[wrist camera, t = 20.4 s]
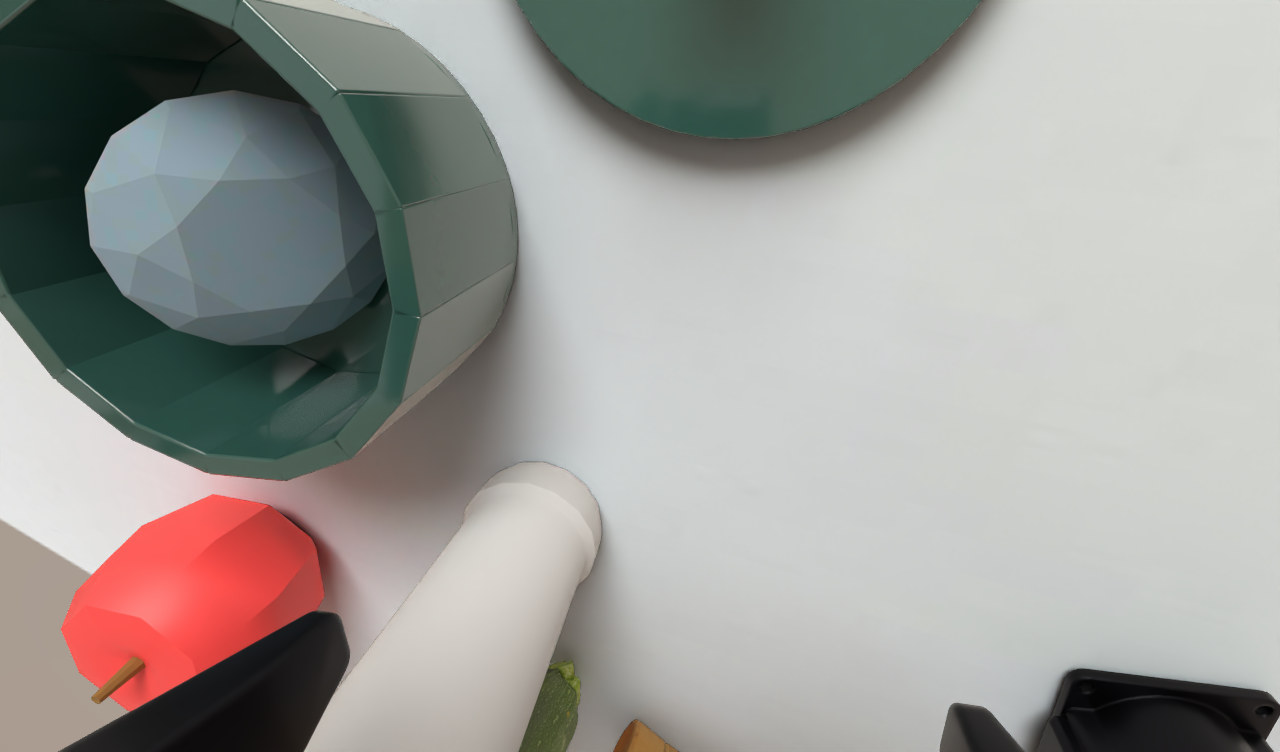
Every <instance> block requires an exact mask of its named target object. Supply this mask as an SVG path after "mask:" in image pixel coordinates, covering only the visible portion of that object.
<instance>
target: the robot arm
mask: <svg viewBox="0 0 1280 752" xmlns="http://www.w3.org/2000/svg"><path fill="white" fill-rule="evenodd" d="M349 659H350V649H349V645H348V642H347V638H346V635H345V631H344V627H343V624H342V620H341V618H340V617H339V616H338V615H337V614H335V613H330V612H323V611H312V612H309V613H307V614H305V615H303V616H301V617H300V618H298V619H296V620H294V621H292V622H291V623H289V624H287V625H285V626H283V627H282V628H280V629H278V630H276V631H274V632H273V633H271V634H269V635H267V636H265V637H264V638H262V639H260V640H258V641H256V642H255V643H253V644H251V645H249V646H247V647H246V648H244V649H242V650H240V651H238V652H237V653H235V654H233V655H231V656H229V657H228V658H226V659H224V660H222V661H220V662H219V663H217V664H215V665H213V666H211V667H210V668H208V669H206V670H204V671H202V672H201V673H199V674H197V675H195V676H193V677H192V678H190V679H188V680H186V681H184V682H183V683H181V684H179V685H177V686H175V687H174V688H172V689H170V690H168V691H166V692H165V693H163V694H161V695H159V696H157V697H156V698H154V699H152V700H150V701H148V702H147V703H145V704H143V705H141V706H139V707H138V708H136V709H134V710H132V711H130V712H129V713H127V714H125V715H123V716H121V717H120V718H118V719H116V720H114V721H112V722H111V723H109V724H107V725H105V726H104V727H102V728H100V729H98V730H96V731H94V732H93V733H91V734H89V735H87V736H85V737H84V738H82V739H80V740H78V741H77V742H75V743H73V744H71V745H69V746H67V747H66V748H64V749H62V750H60V751H58V752H304V751H305V749H306V747H307V745H308V743H309V741H310V739H311V737H312V735H313V733H314V731H315V729H316V727H317V725H318V723H319V722H320V720H321V718H322V716H323V714H324V712H325V710H326V708H327V706H328V704H329V702H330V700H331V698H332V696H333V694H334V692H335V690H336V688H337V686H338V685H339V683H340V681H341V679H342V677H343V675H344V673H345V671H346V669H347V666H348V663H349ZM1083 683H1084V684H1083ZM1279 716H1280V704H1279V703H1278V702H1277V701H1276V700H1275V699H1274V698H1273V696H1272V695H1270V694H1269V693H1267V692H1264V691H1259V690H1251V689H1243V688H1235V687H1227V686H1219V685H1211V684H1203V683H1195V682H1187V681H1179V680H1171V679H1163V678H1155V677H1147V676H1139V675H1131V674H1123V673H1114V672H1106V671H1098V670H1090V669H1076V670H1073V671H1071V672H1070V673H1068V675H1067V676H1066V678H1065V681H1064V684H1063V686H1062V689H1061V692H1060V695H1059V698H1058V700H1057V703H1056V706H1055V709H1054V711H1053V714H1052V716H1051V717H1050V719H1049V720H1048V721H1047V724H1046V727H1045V729H1044V732H1043V735H1042V738H1041V741H1040V743H1039V746H1038V749H1037V752H1274V751H1273V750H1272V749H1271V747H1270V746H1269V745H1268V744H1267V742H1266V741H1265V740H1266V739H1267V737H1268V735H1269V733H1270V732H1271V730H1272V728H1273V727H1274V725H1275V723H1276V721H1277V720H1278V718H1279ZM940 752H1024V750H1023V749H1022V748H1021V747H1020V746H1019V745H1018V744H1017V742H1016V741H1015V740H1014V739H1013V738H1012V737H1011V735H1010V734H1009V733H1008V732H1007V731H1006V730H1005V728H1004V727H1003V726H1002V725H1001V724H1000V723H999V721H998V720H997V719H996V718H995V717H994V716H993V714H992V713H991V712H990V711H988V710H987V709H986V708H984V707H981V706H975V705H968V704H961V703H954V704H952V705H951V706H950V708H949V710H948V714H947V718H946V722H945V727H944V731H943V735H942V739H941V744H940Z"/></svg>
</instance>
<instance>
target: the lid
mask: <svg viewBox="0 0 1280 752" xmlns="http://www.w3.org/2000/svg"><path fill="white" fill-rule="evenodd" d="M516 1H517V3H518V5H519V7H520V9H521V10H522V12H523V13H524V15H525V16H526V18H527V19H528V21H529V22H530V24H531V25H532V27H533V29H534V30H535V32H536V33H537V35H538V36H539V37H540V39H541V40H542V41H543V42H544V43H545V45H546V46H547V47H548V48H549V49H550V51H551V52H552V53H553V54H554V55H555V57H556V58H557V59H558V60H559V61H560V63H561V64H562V65H563V66H565V67H566V68H567V69H568V70H569V71H570V72H571V73H572V74H573V75H574V76H575V77H576V78H577V79H578V80H580V81H581V82H582V83H583V84H584V85H585V86H586V87H587V88H589V89H590V90H592V91H593V92H594V93H596V94H597V95H599V96H600V97H601V98H603V99H604V100H606V101H607V102H609V103H610V104H611V105H613V106H615V107H617V108H618V109H620V110H622V111H624V112H626V113H628V114H630V115H632V116H634V117H636V118H638V119H640V120H641V121H644V122H647V123H650V124H653V125H655V126H658V127H661V128H664V129H667V130H670V131H673V132H678V133H683V134H688V135H693V136H697V137H702V138H717V139H735V140H737V139H749V138H762V137H771V136H776V135H780V134H785V133H789V132H794V131H799V130H803V129H806V128H809V127H811V126H814V125H817V124H820V123H823V122H825V121H828V120H831V119H834V118H837V117H839V116H841V115H843V114H845V113H847V112H849V111H851V110H853V109H855V108H857V107H859V106H860V105H862V104H864V103H866V102H868V101H870V100H872V99H874V98H875V97H877V96H878V95H880V94H881V93H883V92H884V91H886V90H887V89H889V88H890V87H892V86H893V85H895V84H896V83H898V82H899V81H901V80H902V79H904V78H905V77H906V76H907V75H909V74H910V73H911V72H912V71H913V70H915V69H916V68H917V67H918V66H919V65H921V64H922V63H923V62H924V61H925V60H926V59H928V58H929V57H930V56H931V55H932V54H934V53H935V52H936V51H937V50H938V49H939V48H940V47H941V46H942V45H943V44H944V43H945V42H946V41H947V40H948V39H949V38H950V37H951V36H952V35H953V33H954V32H955V31H956V30H957V29H958V28H959V27H960V26H961V25H962V24H963V23H964V22H965V21H966V20H967V19H968V18H969V16H970V15H971V14H972V13H973V11H974V10H975V9H976V7H977V6H978V5H979V4H980V2H981V1H982V0H516Z"/></svg>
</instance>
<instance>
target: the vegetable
mask: <svg viewBox="0 0 1280 752" xmlns="http://www.w3.org/2000/svg"><path fill="white" fill-rule="evenodd" d="M580 685H581V682H580V680H579V678H578V677H575V676H574V665H573V663H572V661H568V662H566V661H562V662H557V663H554V664H552V665H550V666H549V667H548V669H547V672H546V675H545V678H544V681H543V684H542V686H541V689H540V692H539V695H538V698H537V700H536V703H535V706H534V709H533V712H532V715H531V717H530V720H529V723H528V726H527V729H526V731H525V734H524V737H523V740H522V743H521V746H520V748H519V751H518V752H566V750H567V747H568V745H569V743H570V741H571V739H572V737H573V735H574V732H575V729H576V725H577V718H578V714H577V707H578V705H579V702H580Z"/></svg>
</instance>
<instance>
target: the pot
mask: <svg viewBox="0 0 1280 752" xmlns="http://www.w3.org/2000/svg"><path fill="white" fill-rule="evenodd" d="M230 90H236V91H241V92H246V93H250V94H255V95H260V96H265V97H270V98H274V99H279V100H284V101H289V102H294V103H298V104H301V105H303V106H304V107H306V108H308V109H309V110H311V111H313V112H314V113H316V114H318V115H319V116H321V118H322V119H323V121H324V123H325V125H326V127H327V128H328V130H329V132H330V134H331V136H332V137H333V139H334V141H335V143H336V145H337V146H338V148H339V150H340V152H341V154H342V156H343V157H344V159H345V161H346V163H347V165H348V166H349V168H350V170H351V172H352V174H353V175H354V177H355V179H356V181H357V183H358V184H359V186H360V188H361V190H362V192H363V193H364V195H365V197H366V199H367V201H368V202H369V204H370V206H371V208H372V210H373V211H374V213H375V218H376V224H377V229H378V234H379V240H380V245H381V250H382V256H383V261H384V266H385V272H386V278H385V280H384V281H383V283H382V285H381V286H380V288H379V290H378V291H377V293H376V294H375V296H374V298H373V299H372V301H371V302H370V303H369V304H367V305H366V306H365V307H363V308H362V309H361V310H359V311H358V312H357V313H355V314H354V315H353V316H351V317H350V318H348V319H347V320H346V321H344V322H343V323H342V324H340V325H339V326H338V327H336V328H335V329H333V330H330V331H327V332H324V333H321V334H318V335H315V336H312V337H308V338H305V339H302V340H299V341H296V342H293V343H290V344H287V345H233V346H230V345H227V344H223V343H220V342H216V341H213V340H209V339H206V338H202V337H199V336H195V335H192V334H188V333H185V332H181V331H178V330H174V329H172V328H171V327H169V326H168V325H166V324H165V323H163V322H162V321H161V320H159V319H158V318H156V317H155V316H153V315H152V314H150V313H149V312H147V311H146V310H144V309H143V308H141V307H140V306H138V305H137V304H135V303H134V302H133V301H131V300H130V299H128V298H127V297H125V296H124V295H123V294H122V293H121V291H120V290H119V288H118V287H117V285H116V284H115V282H114V281H113V279H112V278H111V276H110V275H109V273H108V272H107V270H106V269H105V267H104V266H103V264H102V263H101V261H100V260H99V258H98V257H97V255H96V254H95V252H94V251H93V249H92V248H91V246H90V238H89V228H88V218H87V208H86V198H85V187H86V185H87V183H88V181H89V179H90V177H91V175H92V173H93V171H94V169H95V167H96V165H97V163H98V161H99V159H100V157H101V155H102V153H103V151H104V149H105V147H106V145H107V143H108V141H109V139H110V137H111V136H112V135H113V134H115V133H116V132H118V131H119V130H121V129H123V128H124V127H126V126H127V125H129V124H130V123H132V122H133V121H135V120H136V119H138V118H139V117H141V116H142V115H144V114H145V113H147V112H149V111H150V110H152V109H153V108H155V107H156V106H158V105H159V104H161V103H162V102H164V101H166V100H172V99H179V98H185V97H191V96H198V95H204V94H211V93H217V92H224V91H230ZM517 247H518V235H517V216H516V209H515V203H514V197H513V191H512V187H511V184H510V180H509V177H508V173H507V169H506V166H505V163H504V161H503V158H502V156H501V153H500V151H499V148H498V146H497V143H496V141H495V138H494V136H493V135H492V133H491V131H490V129H489V127H488V125H487V124H486V122H485V120H484V118H483V116H482V114H481V112H480V111H479V109H478V108H477V107H476V105H475V104H474V102H473V101H472V99H471V98H470V97H469V95H468V94H467V92H466V91H465V89H464V88H463V87H462V86H461V84H460V83H459V82H458V81H457V80H456V79H455V78H454V77H453V75H452V74H451V73H450V72H449V71H448V70H447V69H446V67H445V66H444V65H443V64H442V63H441V62H439V61H438V60H437V59H436V58H435V57H434V56H433V55H432V54H431V53H429V52H428V51H427V50H426V49H425V48H424V47H423V46H422V45H420V44H419V43H417V42H416V41H415V40H413V39H412V38H410V37H409V36H407V35H406V34H405V33H404V32H402V31H400V30H399V29H397V28H395V27H394V26H392V25H390V24H388V23H386V22H384V21H382V20H380V19H378V18H376V17H374V16H372V15H370V14H367V13H364V12H361V11H358V10H355V9H353V8H350V7H347V6H345V5H342V4H340V3H338V2H335V1H333V0H0V312H1V313H2V314H3V316H4V317H5V318H6V319H7V321H8V322H9V323H10V324H11V326H12V327H13V328H14V330H15V331H16V332H17V333H18V335H19V336H20V337H21V338H22V340H23V341H24V342H25V343H26V345H27V346H28V347H29V348H30V350H31V351H32V352H33V354H34V355H35V356H36V357H37V359H38V360H39V361H40V362H41V364H42V365H43V366H44V367H45V369H46V370H47V371H48V373H49V374H50V375H51V376H52V378H53V379H56V380H57V382H58V383H60V384H61V385H62V386H63V387H65V388H66V389H67V390H68V391H70V392H71V393H72V394H73V395H75V396H76V397H77V398H78V399H80V400H81V401H82V402H83V403H85V404H86V405H87V406H89V407H90V408H91V409H92V410H94V411H95V412H96V413H97V414H99V415H100V416H101V417H102V418H104V419H105V420H106V421H107V422H109V423H110V424H111V425H112V426H114V427H115V428H116V429H117V430H119V431H120V432H121V433H122V434H124V435H125V436H126V437H128V438H131V440H133V441H135V442H137V443H139V444H142V445H144V446H146V447H149V448H151V449H153V450H155V451H158V452H160V453H162V454H164V455H167V456H169V457H171V458H173V459H176V460H178V461H180V462H182V463H185V464H187V465H189V466H192V467H194V468H196V469H198V470H201V471H203V472H205V473H209V474H214V475H224V476H235V477H245V478H256V479H266V480H277V481H284V480H285V481H288V480H291V479H294V478H297V477H300V476H303V475H306V474H309V473H312V472H315V471H318V470H321V469H323V468H326V467H329V466H332V465H335V464H338V463H341V462H344V461H347V460H350V459H352V458H354V457H355V456H356V455H357V454H359V453H360V452H361V451H362V450H363V449H364V448H366V447H367V446H368V445H369V444H370V443H371V442H373V441H374V440H375V439H376V438H377V437H378V436H380V435H381V434H382V433H383V432H384V431H385V430H387V429H388V428H389V427H390V426H391V425H392V424H394V423H395V422H396V421H397V420H398V419H399V418H401V417H402V416H403V415H404V414H405V413H406V412H408V411H409V410H410V409H411V408H412V407H413V406H415V405H416V404H417V403H418V402H419V401H421V400H422V399H423V398H424V397H425V396H426V395H428V394H429V393H430V392H431V391H432V390H433V389H435V388H436V387H437V386H438V385H439V384H440V383H442V382H443V381H444V380H445V379H446V378H447V377H449V376H450V375H451V374H452V373H453V372H454V371H455V370H456V369H457V368H458V367H459V366H460V365H461V364H462V363H463V362H464V361H465V360H466V358H467V357H468V356H469V355H470V354H471V353H472V352H473V351H474V350H475V349H476V348H477V347H478V346H480V345H481V343H482V342H483V341H484V339H485V338H486V337H487V336H488V334H489V333H490V332H491V331H492V330H493V329H494V327H495V326H496V323H497V320H498V318H499V317H500V315H501V313H502V311H503V309H504V306H505V304H506V301H507V298H508V296H509V293H510V290H511V286H512V282H513V277H514V273H515V268H516V258H517Z"/></svg>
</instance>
